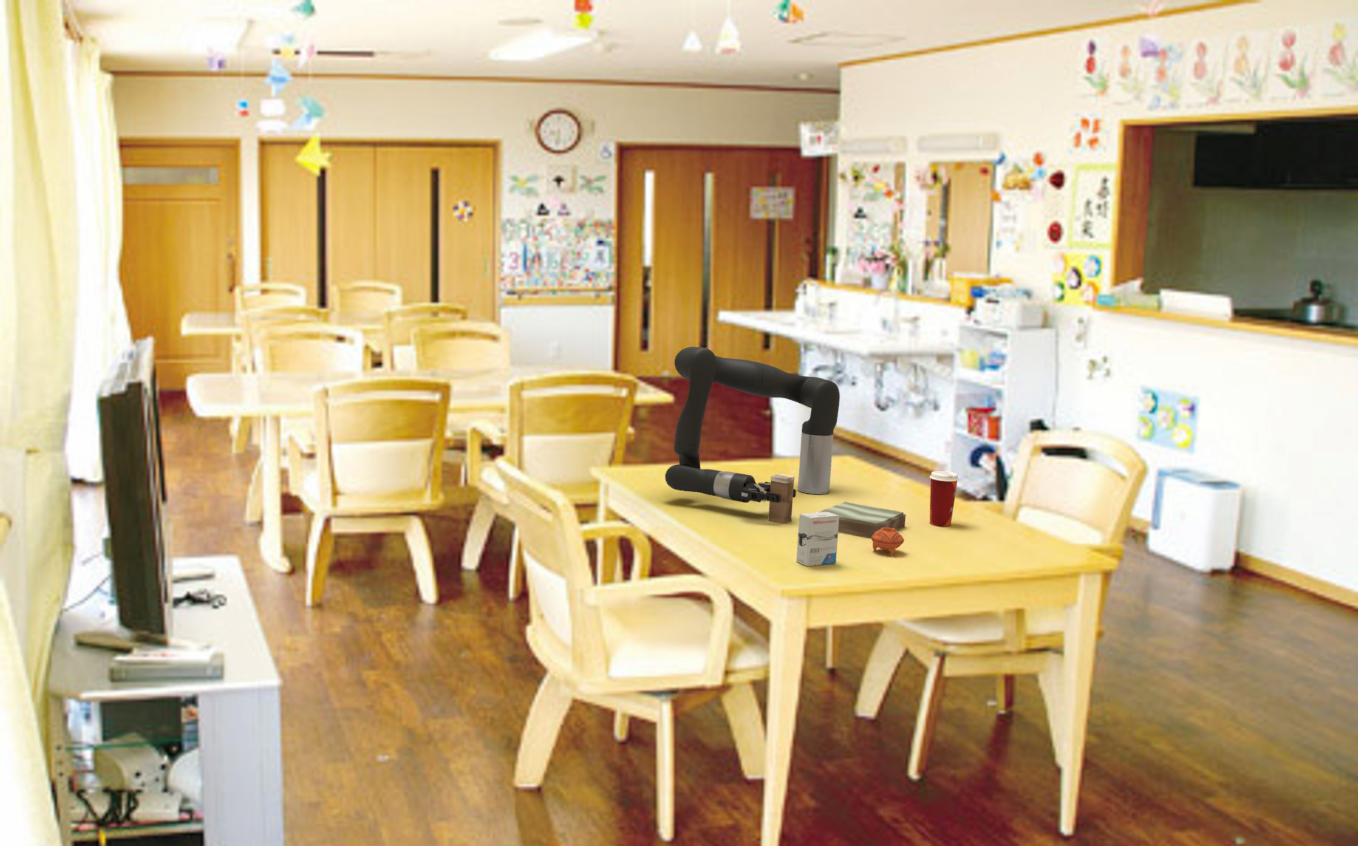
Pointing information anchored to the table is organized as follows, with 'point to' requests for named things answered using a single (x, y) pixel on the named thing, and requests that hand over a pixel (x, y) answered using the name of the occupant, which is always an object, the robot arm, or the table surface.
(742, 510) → the table surface
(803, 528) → the ink box
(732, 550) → the table surface
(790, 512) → the block
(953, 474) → the paper cup
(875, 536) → the pot
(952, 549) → the table surface
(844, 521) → the block
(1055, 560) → the table surface
